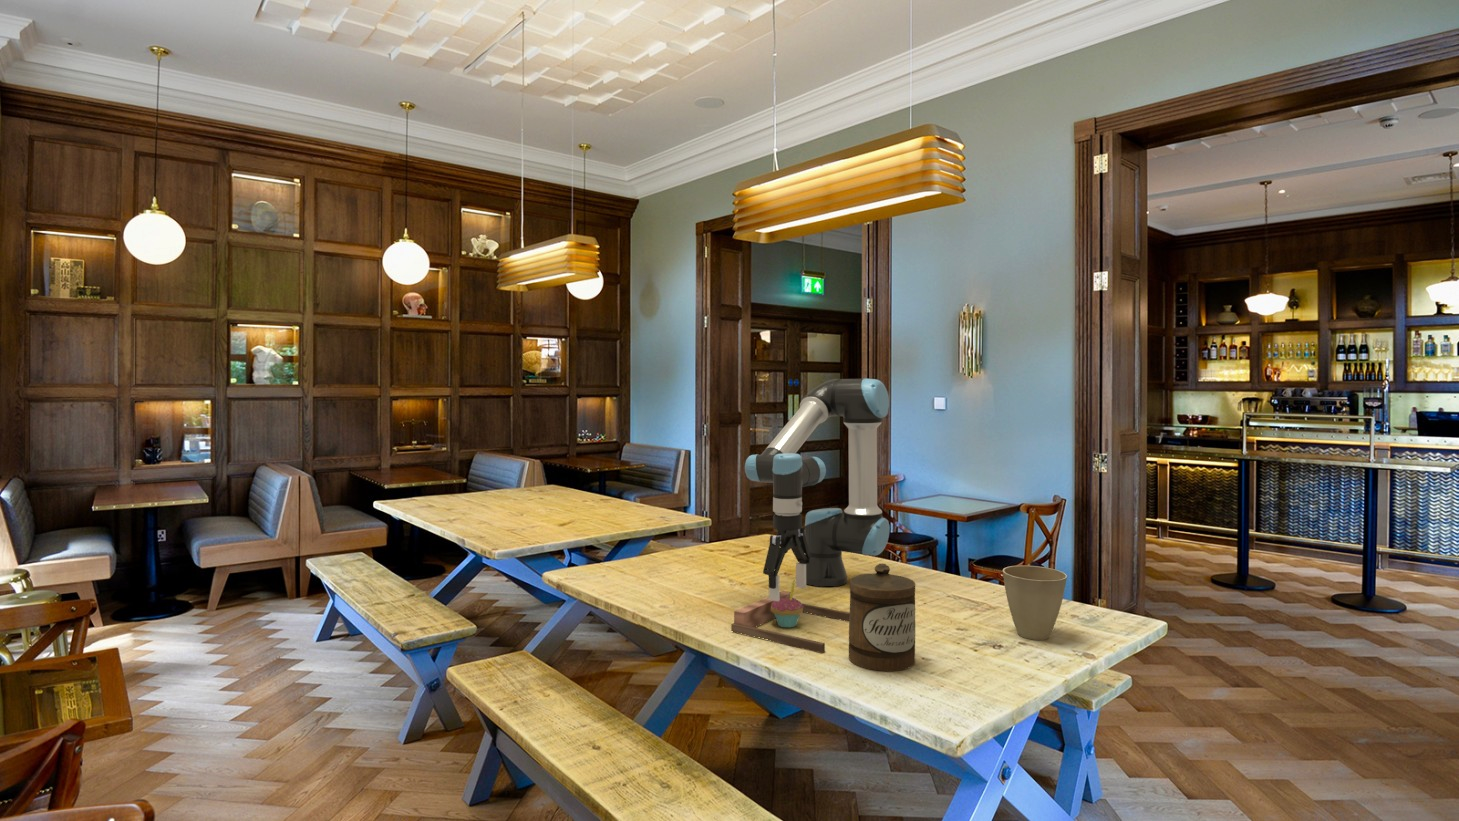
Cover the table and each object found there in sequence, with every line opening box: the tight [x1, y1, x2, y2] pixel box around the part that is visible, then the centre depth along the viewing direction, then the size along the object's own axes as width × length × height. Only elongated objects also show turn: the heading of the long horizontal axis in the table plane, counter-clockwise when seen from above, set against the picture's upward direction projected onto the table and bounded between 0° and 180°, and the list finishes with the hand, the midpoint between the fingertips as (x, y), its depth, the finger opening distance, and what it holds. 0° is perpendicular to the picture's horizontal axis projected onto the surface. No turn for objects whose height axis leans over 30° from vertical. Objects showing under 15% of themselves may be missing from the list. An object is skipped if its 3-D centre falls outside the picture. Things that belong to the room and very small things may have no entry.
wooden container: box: [848, 563, 916, 672], centre depth 171 cm, size 15×15×22 cm
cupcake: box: [771, 579, 804, 628], centre depth 197 cm, size 9×8×12 cm
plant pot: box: [1002, 565, 1068, 641], centre depth 189 cm, size 15×15×16 cm
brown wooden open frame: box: [730, 590, 850, 654], centre depth 194 cm, size 26×26×5 cm
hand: (788, 593), depth 197 cm, fingers open, 13 cm apart
